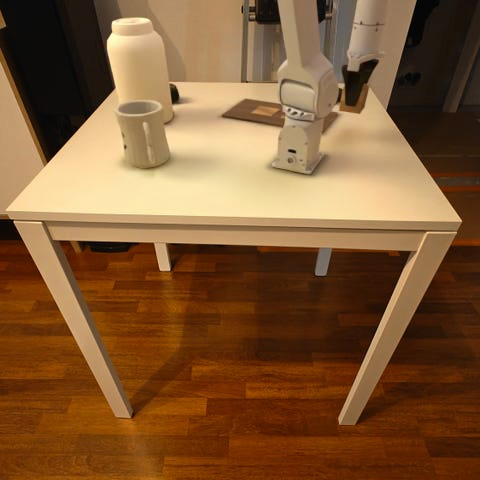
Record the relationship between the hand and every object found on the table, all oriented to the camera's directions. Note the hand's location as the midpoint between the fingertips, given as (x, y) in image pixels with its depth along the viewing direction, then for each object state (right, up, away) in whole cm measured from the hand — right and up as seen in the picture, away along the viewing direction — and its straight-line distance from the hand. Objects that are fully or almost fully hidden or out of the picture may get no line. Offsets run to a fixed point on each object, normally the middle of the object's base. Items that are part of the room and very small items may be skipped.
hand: (353, 102), depth 76 cm
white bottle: (-47, +3, +14) cm, 49 cm away
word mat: (-14, +4, +15) cm, 21 cm away
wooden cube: (0, -1, +1) cm, 1 cm away
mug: (-42, -14, -4) cm, 45 cm away
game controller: (0, +14, +24) cm, 28 cm away
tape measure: (-44, +12, +23) cm, 51 cm away
